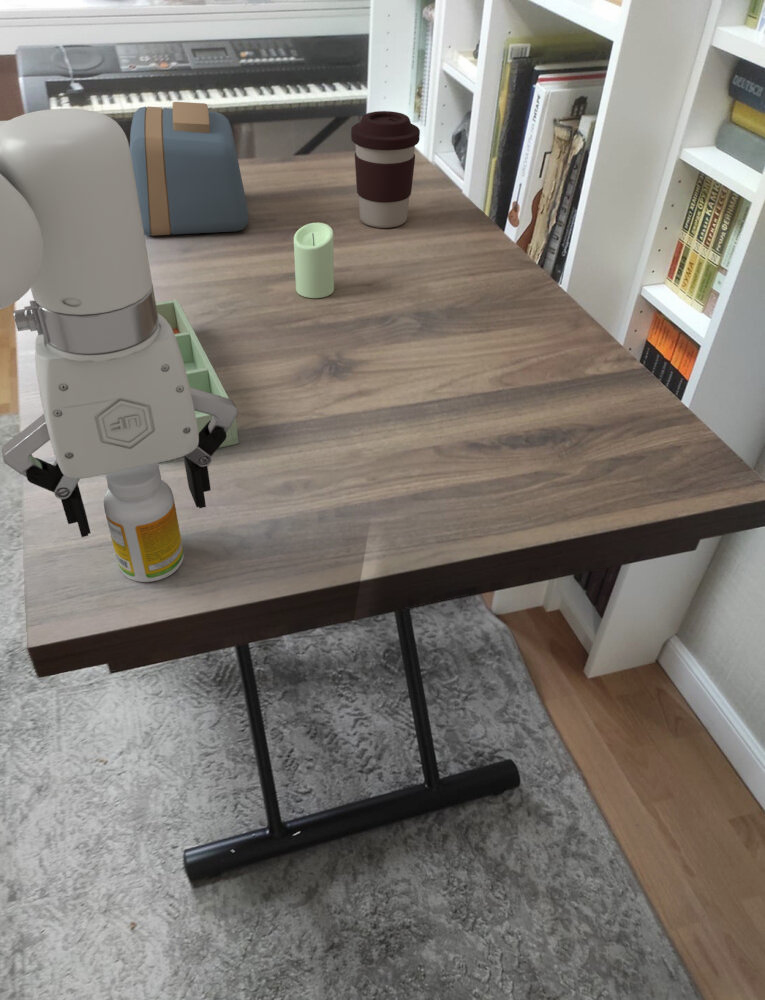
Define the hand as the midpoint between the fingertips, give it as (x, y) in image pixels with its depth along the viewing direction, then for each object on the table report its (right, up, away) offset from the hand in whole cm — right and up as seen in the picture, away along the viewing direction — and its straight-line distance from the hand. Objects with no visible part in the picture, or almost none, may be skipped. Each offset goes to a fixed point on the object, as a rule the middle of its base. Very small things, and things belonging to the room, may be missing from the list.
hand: (141, 510), depth 67 cm
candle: (+10, +28, +43) cm, 53 cm away
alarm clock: (-10, +44, +61) cm, 76 cm away
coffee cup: (+19, +44, +62) cm, 79 cm away
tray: (-4, +13, +24) cm, 27 cm away
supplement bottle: (0, -4, +4) cm, 6 cm away
